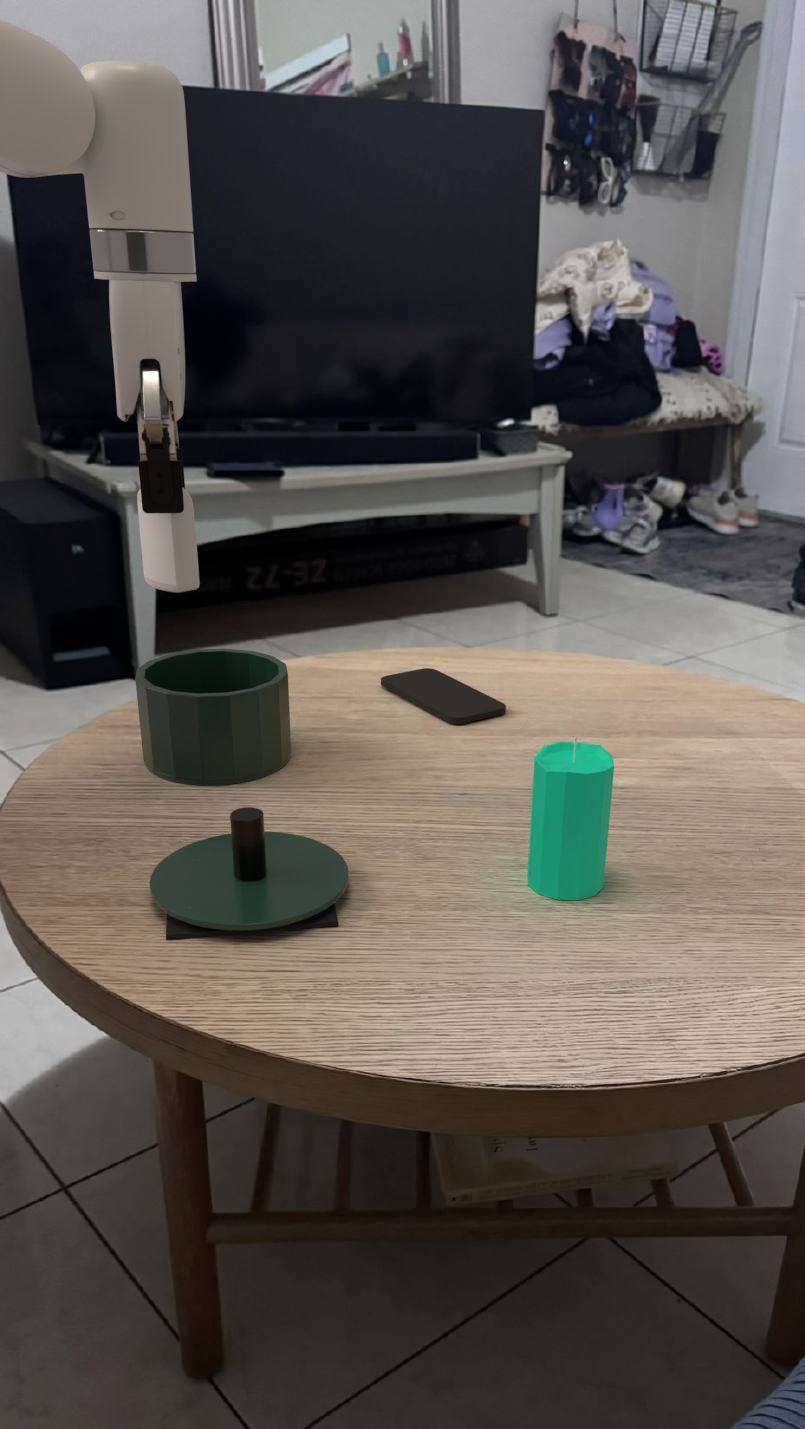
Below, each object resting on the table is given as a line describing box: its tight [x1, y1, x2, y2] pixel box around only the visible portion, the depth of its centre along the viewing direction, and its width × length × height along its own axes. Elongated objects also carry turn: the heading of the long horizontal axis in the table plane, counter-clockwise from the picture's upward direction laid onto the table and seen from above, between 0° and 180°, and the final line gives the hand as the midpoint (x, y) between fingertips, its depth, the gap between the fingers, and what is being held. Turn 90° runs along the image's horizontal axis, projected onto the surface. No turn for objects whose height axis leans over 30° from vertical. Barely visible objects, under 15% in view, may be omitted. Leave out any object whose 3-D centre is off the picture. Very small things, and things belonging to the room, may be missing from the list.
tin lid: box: [149, 806, 350, 930], centre depth 86 cm, size 15×15×6 cm
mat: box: [165, 902, 339, 941], centre depth 87 cm, size 12×12×1 cm
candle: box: [526, 736, 615, 901], centre depth 88 cm, size 6×6×12 cm
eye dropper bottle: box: [136, 487, 201, 593], centre depth 96 cm, size 4×6×12 cm
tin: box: [134, 648, 292, 786], centre depth 109 cm, size 14×14×8 cm
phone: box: [380, 667, 507, 725], centre depth 126 cm, size 7×1×15 cm
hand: (164, 502), depth 95 cm, fingers closed on eye dropper bottle, 5 cm apart
